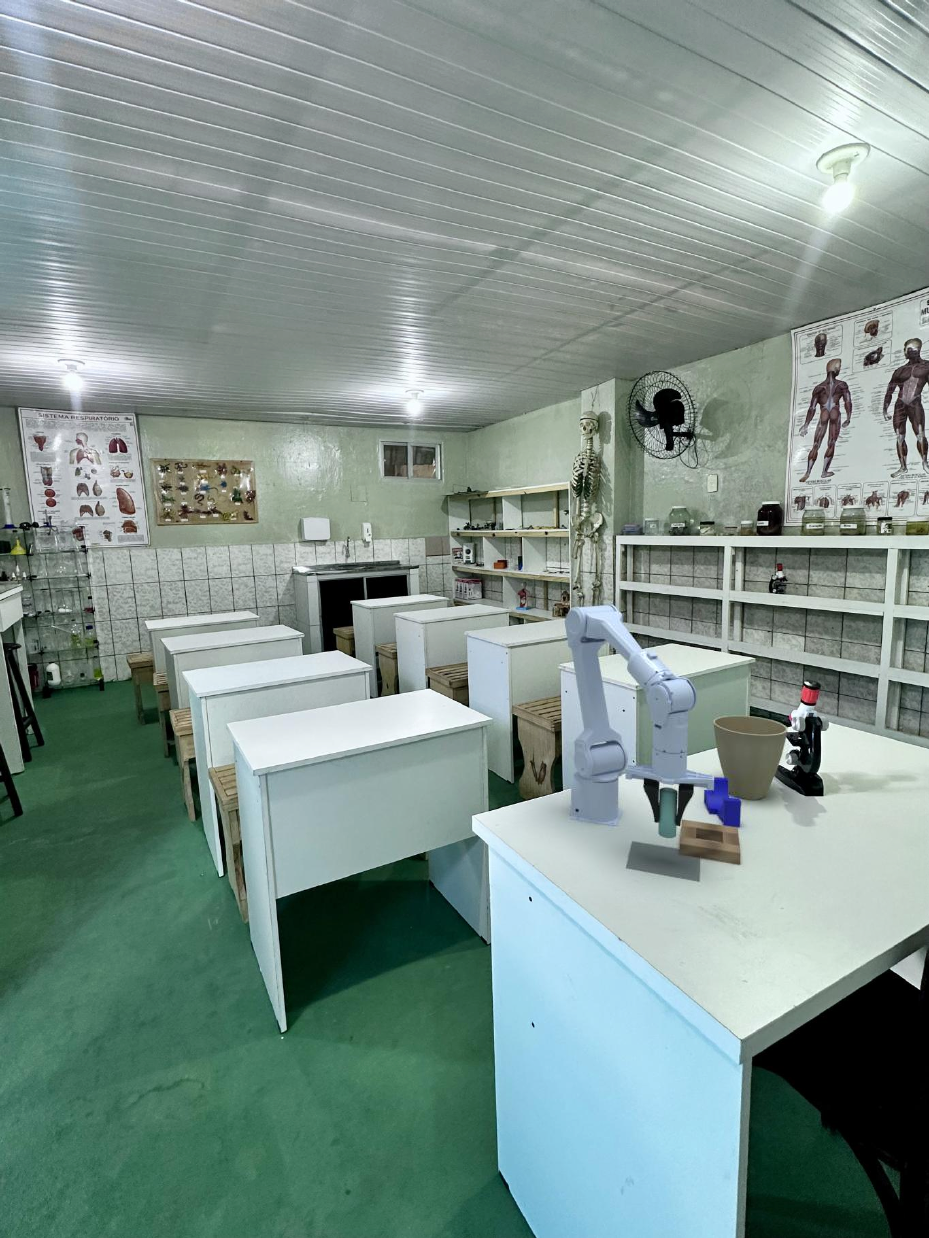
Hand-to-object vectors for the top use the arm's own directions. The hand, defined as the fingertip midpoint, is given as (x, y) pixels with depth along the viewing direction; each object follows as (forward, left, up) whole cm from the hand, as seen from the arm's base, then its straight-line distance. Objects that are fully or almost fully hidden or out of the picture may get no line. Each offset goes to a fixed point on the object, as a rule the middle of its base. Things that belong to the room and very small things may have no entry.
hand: (667, 821), depth 105 cm
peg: (0, 0, -2) cm, 2 cm away
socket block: (+7, +8, -8) cm, 13 cm away
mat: (0, 0, -8) cm, 8 cm away
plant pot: (+15, +37, -8) cm, 41 cm away
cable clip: (+9, +23, -8) cm, 26 cm away
